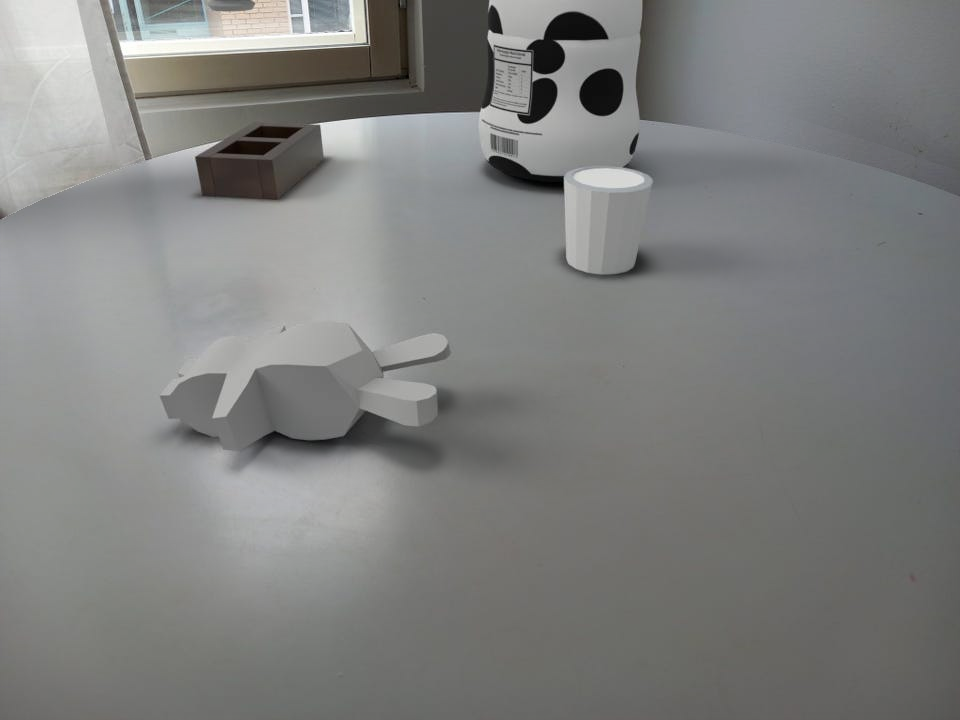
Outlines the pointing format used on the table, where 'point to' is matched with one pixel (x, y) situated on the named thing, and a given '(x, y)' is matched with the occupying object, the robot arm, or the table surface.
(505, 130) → the milk container
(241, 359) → the bunny figurine
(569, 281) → the table surface
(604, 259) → the shot glass
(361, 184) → the table surface
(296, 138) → the rack
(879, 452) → the table surface
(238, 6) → the rook chess piece
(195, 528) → the table surface
